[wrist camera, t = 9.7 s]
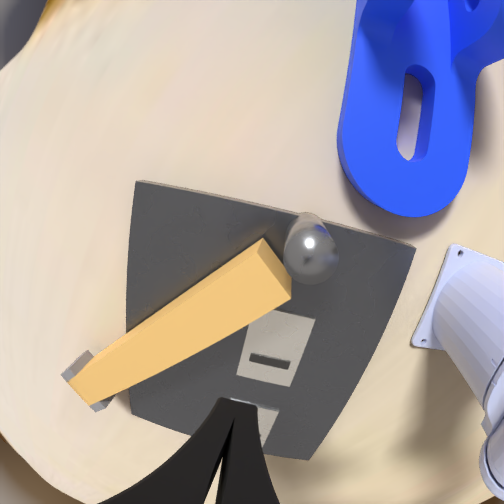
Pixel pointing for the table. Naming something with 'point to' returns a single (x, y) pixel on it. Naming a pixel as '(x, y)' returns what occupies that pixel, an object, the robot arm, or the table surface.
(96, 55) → the table surface
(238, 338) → the panel
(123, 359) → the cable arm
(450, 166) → the bracket
